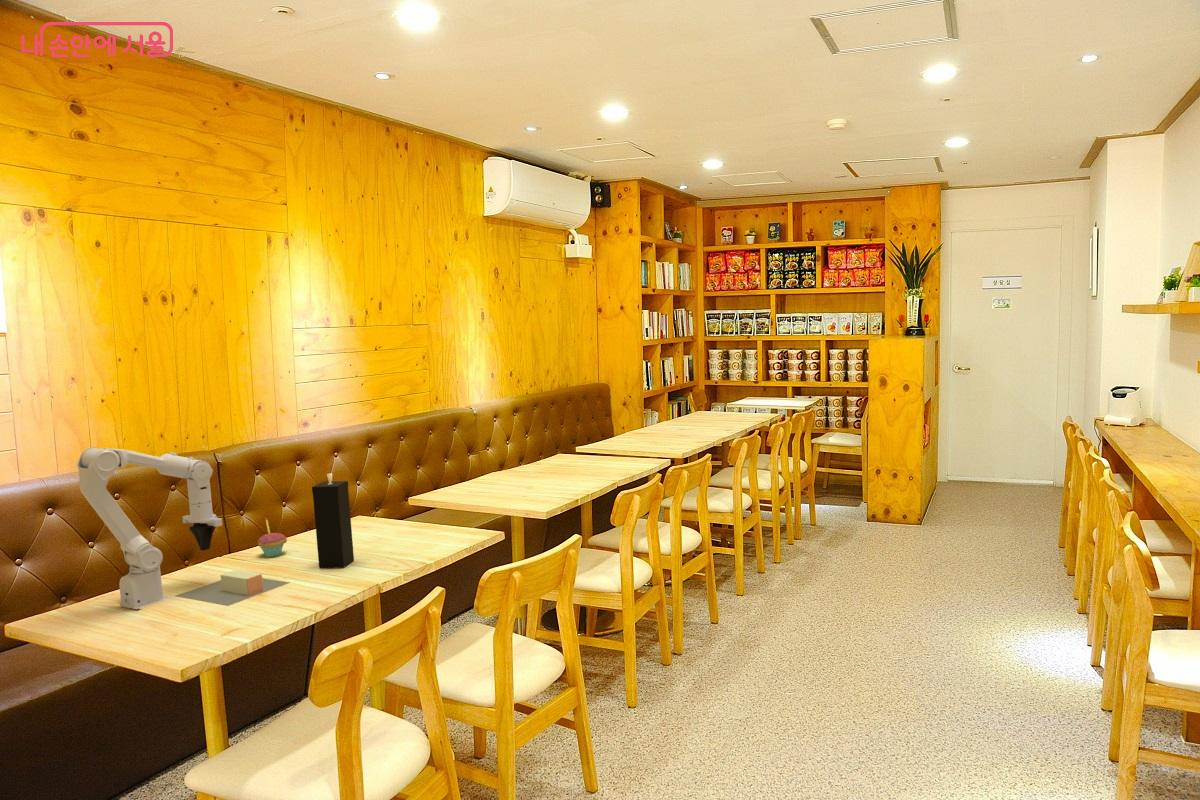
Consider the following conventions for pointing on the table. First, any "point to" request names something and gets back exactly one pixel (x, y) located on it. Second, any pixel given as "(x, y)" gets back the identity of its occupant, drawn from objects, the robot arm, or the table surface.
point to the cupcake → (272, 543)
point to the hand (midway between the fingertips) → (205, 549)
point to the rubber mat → (217, 596)
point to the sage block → (241, 582)
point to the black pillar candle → (333, 523)
